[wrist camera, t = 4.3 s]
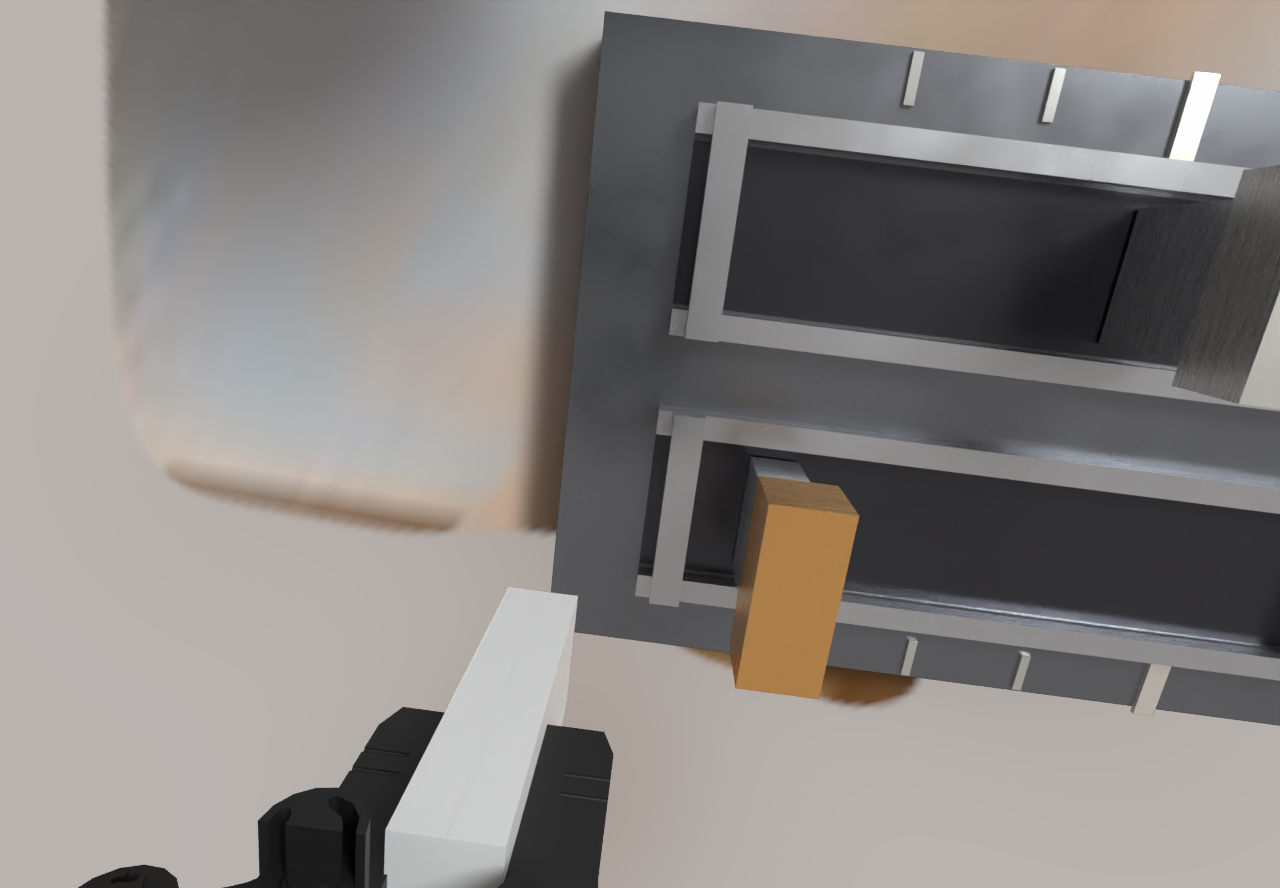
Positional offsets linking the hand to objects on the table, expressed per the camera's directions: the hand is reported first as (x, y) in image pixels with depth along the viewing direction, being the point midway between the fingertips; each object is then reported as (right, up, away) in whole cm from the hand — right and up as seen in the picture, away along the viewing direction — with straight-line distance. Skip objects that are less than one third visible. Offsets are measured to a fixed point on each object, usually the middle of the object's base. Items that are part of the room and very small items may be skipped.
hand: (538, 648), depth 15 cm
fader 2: (+17, +9, +6) cm, 21 cm away
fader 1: (+6, +2, +8) cm, 11 cm away
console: (+15, +6, +9) cm, 19 cm away
